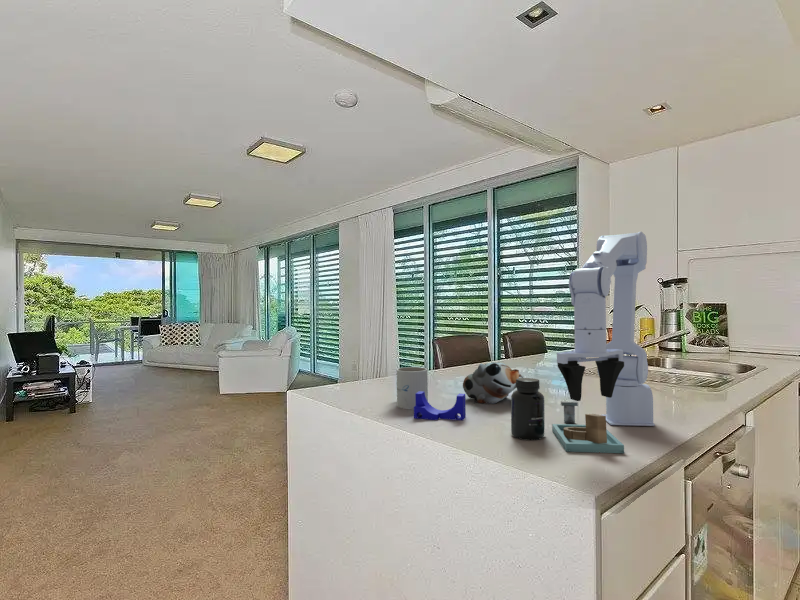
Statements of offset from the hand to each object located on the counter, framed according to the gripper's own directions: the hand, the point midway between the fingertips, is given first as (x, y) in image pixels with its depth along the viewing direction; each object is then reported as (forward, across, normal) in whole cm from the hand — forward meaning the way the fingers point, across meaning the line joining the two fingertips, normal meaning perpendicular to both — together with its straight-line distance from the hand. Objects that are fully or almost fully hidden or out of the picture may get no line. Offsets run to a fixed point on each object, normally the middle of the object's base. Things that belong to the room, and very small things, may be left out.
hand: (591, 398), depth 88 cm
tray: (+9, -1, -3) cm, 10 cm away
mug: (+10, +20, -48) cm, 53 cm away
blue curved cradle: (+10, +18, -31) cm, 37 cm away
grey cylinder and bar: (+9, -8, -15) cm, 19 cm away
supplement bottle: (+10, +8, -10) cm, 16 cm away
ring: (+8, 0, -1) cm, 8 cm away
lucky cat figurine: (+10, -4, -43) cm, 44 cm away
